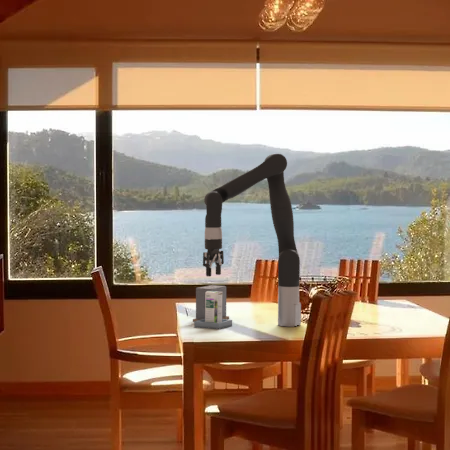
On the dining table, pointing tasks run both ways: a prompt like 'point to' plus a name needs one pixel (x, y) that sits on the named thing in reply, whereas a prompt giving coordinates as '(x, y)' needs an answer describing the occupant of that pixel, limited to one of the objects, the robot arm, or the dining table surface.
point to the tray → (213, 324)
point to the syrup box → (213, 306)
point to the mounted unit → (201, 300)
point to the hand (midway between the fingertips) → (213, 275)
